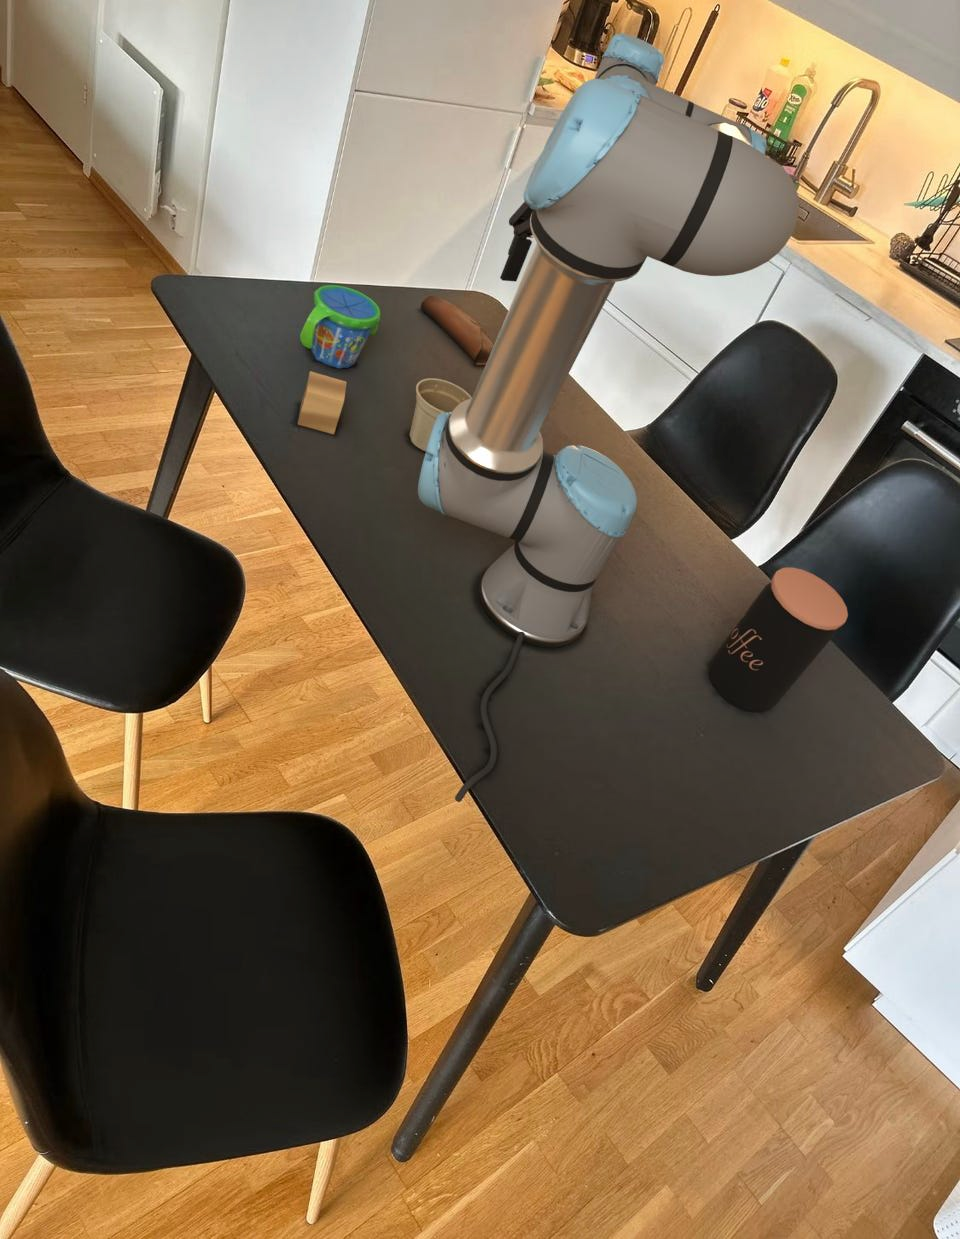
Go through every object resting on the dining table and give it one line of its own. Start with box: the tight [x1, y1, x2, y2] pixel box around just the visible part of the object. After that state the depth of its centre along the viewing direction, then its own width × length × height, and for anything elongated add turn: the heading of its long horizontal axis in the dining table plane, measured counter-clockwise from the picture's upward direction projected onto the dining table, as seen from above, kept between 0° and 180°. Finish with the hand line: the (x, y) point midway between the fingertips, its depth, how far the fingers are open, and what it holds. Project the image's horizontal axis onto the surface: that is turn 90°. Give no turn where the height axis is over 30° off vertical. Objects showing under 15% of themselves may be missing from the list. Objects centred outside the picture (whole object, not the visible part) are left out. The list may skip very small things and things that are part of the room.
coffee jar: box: [708, 566, 849, 713], centre depth 131 cm, size 11×11×18 cm
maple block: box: [297, 370, 347, 435], centre depth 145 cm, size 6×6×6 cm
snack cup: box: [299, 284, 381, 370], centre depth 158 cm, size 16×10×10 cm
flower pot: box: [409, 377, 473, 453], centre depth 150 cm, size 9×9×9 cm
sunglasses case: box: [420, 295, 494, 367], centre depth 181 cm, size 18×7×7 cm
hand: (531, 304), depth 146 cm, fingers open, 13 cm apart
